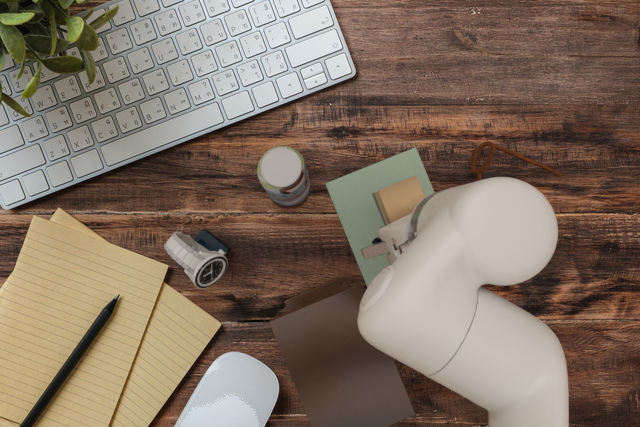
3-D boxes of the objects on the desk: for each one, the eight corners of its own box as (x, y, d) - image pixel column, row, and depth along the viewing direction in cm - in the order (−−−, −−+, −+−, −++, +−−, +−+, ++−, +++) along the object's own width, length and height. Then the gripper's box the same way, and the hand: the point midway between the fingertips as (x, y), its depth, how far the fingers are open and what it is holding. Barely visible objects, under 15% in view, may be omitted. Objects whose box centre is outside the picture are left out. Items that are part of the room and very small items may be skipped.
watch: (217, 287, 67) (201, 299, 56) (171, 252, 67) (146, 256, 56) (242, 256, 67) (231, 261, 56) (197, 220, 67) (177, 218, 56)
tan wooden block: (442, 265, 62) (454, 268, 57) (406, 279, 62) (416, 284, 57) (407, 179, 62) (416, 175, 57) (371, 193, 62) (377, 190, 57)
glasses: (476, 143, 69) (490, 136, 64) (560, 173, 69) (580, 169, 64) (447, 229, 68) (458, 229, 63) (532, 259, 69) (550, 262, 64)
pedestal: (381, 360, 67) (415, 414, 47) (315, 388, 67) (322, 455, 47) (343, 267, 68) (362, 283, 48) (277, 294, 67) (268, 322, 47)
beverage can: (284, 217, 67) (280, 215, 55) (253, 175, 68) (243, 163, 56) (320, 191, 68) (324, 183, 56) (289, 149, 68) (287, 132, 56)
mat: (468, 277, 68) (469, 277, 68) (378, 314, 68) (378, 315, 67) (415, 147, 69) (416, 147, 68) (325, 183, 68) (325, 183, 68)
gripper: (381, 304, 43) (357, 282, 61) (552, 233, 44) (479, 231, 62) (350, 227, 43) (335, 227, 61) (521, 157, 44) (457, 178, 62)
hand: (408, 229), depth 61 cm, fingers closed on tan wooden block, 5 cm apart
